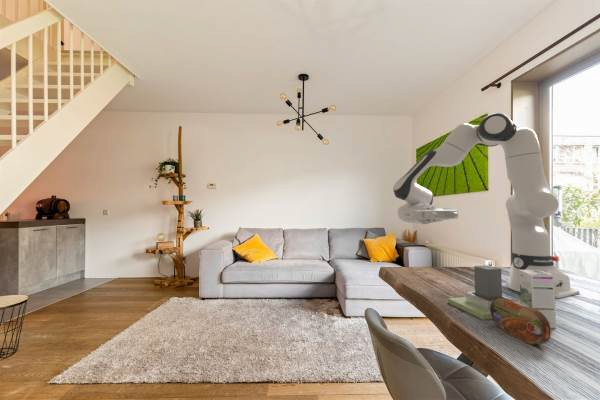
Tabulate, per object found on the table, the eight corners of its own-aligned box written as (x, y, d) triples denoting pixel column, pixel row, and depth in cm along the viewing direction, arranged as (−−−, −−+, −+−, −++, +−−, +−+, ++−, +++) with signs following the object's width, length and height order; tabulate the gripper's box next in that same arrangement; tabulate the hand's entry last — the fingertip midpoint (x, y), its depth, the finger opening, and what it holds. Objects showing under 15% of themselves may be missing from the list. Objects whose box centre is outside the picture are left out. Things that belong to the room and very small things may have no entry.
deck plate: (488, 299, 95) (487, 286, 95) (528, 315, 81) (527, 300, 81) (448, 302, 92) (448, 289, 92) (483, 319, 78) (482, 304, 78)
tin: (489, 323, 76) (488, 293, 76) (499, 322, 76) (499, 293, 76) (541, 352, 61) (540, 314, 61) (554, 351, 61) (553, 314, 61)
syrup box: (557, 328, 72) (555, 274, 72) (532, 326, 73) (530, 273, 74) (542, 319, 78) (541, 269, 78) (519, 318, 79) (518, 268, 79)
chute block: (488, 301, 88) (487, 265, 89) (502, 307, 83) (501, 268, 84) (475, 302, 87) (474, 266, 88) (488, 308, 82) (487, 269, 83)
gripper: (401, 207, 116) (421, 207, 102) (443, 206, 119) (468, 206, 106) (401, 221, 115) (422, 223, 102) (443, 220, 119) (468, 222, 105)
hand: (445, 214), depth 104 cm, fingers open, 8 cm apart
